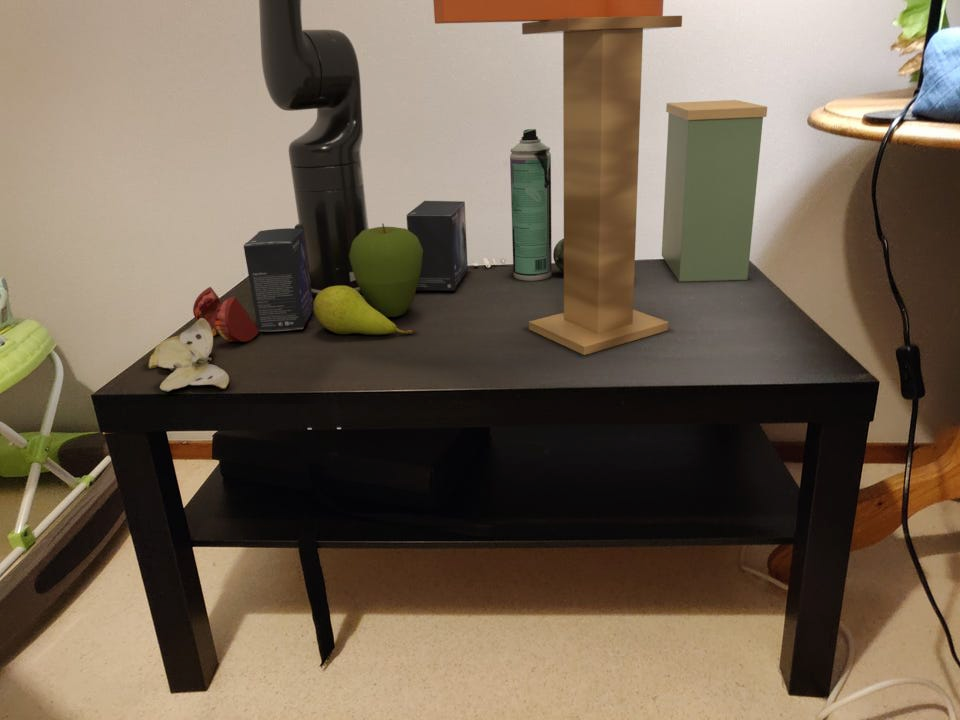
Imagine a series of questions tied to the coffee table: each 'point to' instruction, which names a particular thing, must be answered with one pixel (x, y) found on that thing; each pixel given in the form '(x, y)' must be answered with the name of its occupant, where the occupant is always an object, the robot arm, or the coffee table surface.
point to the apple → (387, 268)
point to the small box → (440, 243)
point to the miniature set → (488, 262)
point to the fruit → (350, 313)
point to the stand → (600, 180)
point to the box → (279, 279)
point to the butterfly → (191, 359)
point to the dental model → (224, 317)
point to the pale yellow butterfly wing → (154, 357)
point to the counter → (711, 188)
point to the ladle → (539, 10)
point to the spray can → (531, 208)
